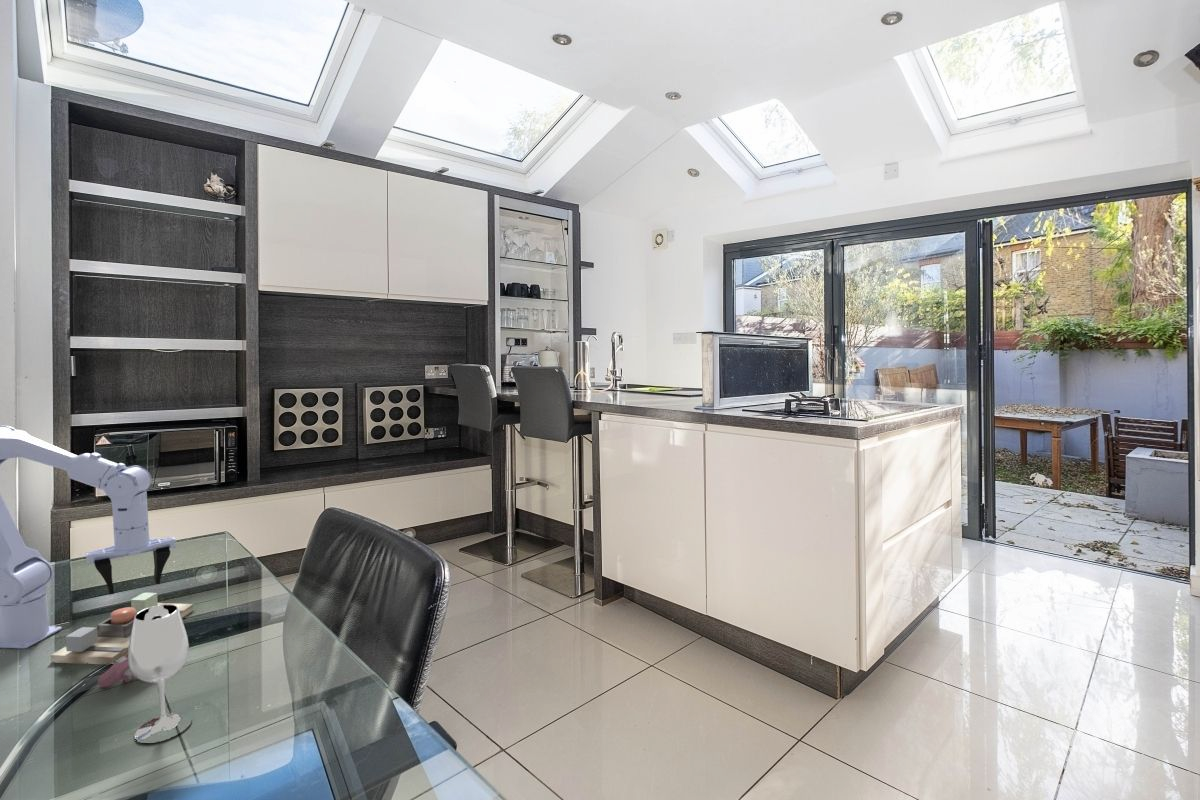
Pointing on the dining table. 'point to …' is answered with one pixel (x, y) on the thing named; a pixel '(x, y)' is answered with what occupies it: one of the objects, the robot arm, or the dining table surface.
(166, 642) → the wineglass
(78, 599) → the dining table surface
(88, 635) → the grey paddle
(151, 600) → the pale green block
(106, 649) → the control board
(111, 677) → the video game controller
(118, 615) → the pink round button
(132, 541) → the robot arm
